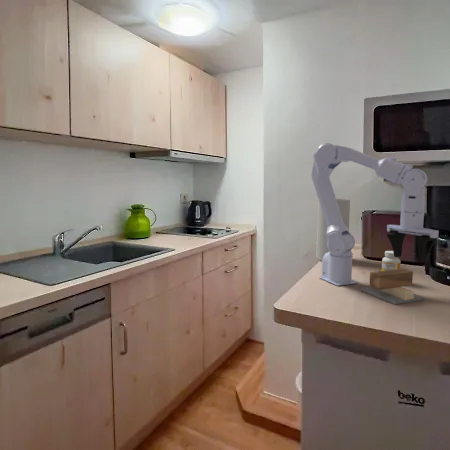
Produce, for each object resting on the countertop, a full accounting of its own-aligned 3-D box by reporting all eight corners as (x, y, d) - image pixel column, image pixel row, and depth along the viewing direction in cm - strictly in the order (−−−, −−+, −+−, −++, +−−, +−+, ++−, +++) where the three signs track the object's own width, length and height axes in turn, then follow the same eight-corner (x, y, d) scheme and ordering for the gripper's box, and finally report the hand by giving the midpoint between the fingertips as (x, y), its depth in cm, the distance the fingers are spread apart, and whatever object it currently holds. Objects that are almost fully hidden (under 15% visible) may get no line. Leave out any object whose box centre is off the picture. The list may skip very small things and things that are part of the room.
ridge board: (361, 290, 99) (362, 281, 99) (387, 287, 103) (388, 278, 102) (394, 304, 88) (395, 294, 88) (422, 299, 91) (423, 289, 91)
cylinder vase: (309, 257, 143) (311, 199, 140) (332, 255, 148) (334, 198, 145) (330, 264, 132) (332, 200, 129) (354, 261, 137) (357, 199, 134)
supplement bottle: (386, 283, 106) (388, 253, 105) (377, 278, 112) (379, 250, 111) (402, 283, 107) (404, 253, 106) (392, 278, 112) (394, 250, 111)
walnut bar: (369, 286, 94) (370, 272, 94) (401, 281, 99) (402, 268, 98) (378, 289, 91) (379, 275, 91) (412, 285, 95) (413, 271, 95)
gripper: (380, 210, 99) (378, 255, 101) (427, 214, 86) (423, 266, 88) (397, 209, 102) (394, 253, 104) (445, 213, 89) (441, 263, 91)
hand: (409, 259), depth 96 cm, fingers open, 7 cm apart
